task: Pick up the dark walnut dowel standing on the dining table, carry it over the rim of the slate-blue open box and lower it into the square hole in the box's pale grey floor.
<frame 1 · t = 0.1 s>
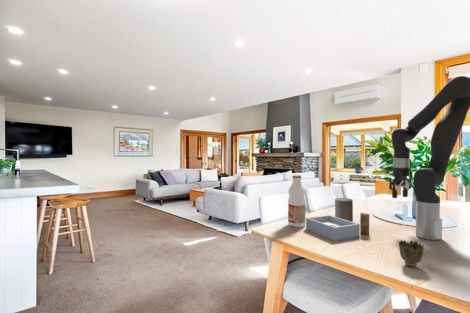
hand: (399, 197, 135), 17 cm above the table, tool pointing down, fingers open, 8 cm apart
box: (331, 232, 131), on the table
fruit juice: (296, 225, 144), on the table
peg: (364, 233, 129), on the table
pillar candle: (343, 222, 150), on the table
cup: (410, 266, 92), on the table
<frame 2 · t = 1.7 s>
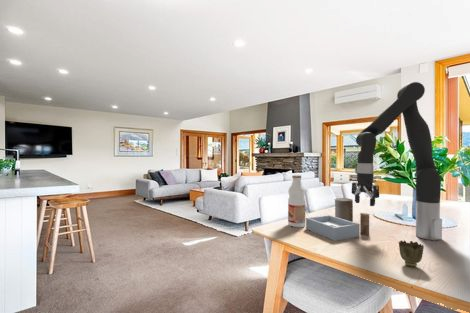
hand: (364, 204, 129), 15 cm above the table, tool pointing down, fingers open, 8 cm apart
nothing on the table moved.
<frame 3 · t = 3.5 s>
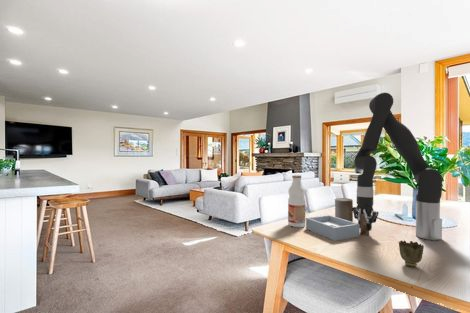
hand: (364, 229, 129), 2 cm above the table, tool pointing down, fingers closed on peg, 4 cm apart
peg: (364, 233, 129), on the table, touching gripper
everything else where it was.
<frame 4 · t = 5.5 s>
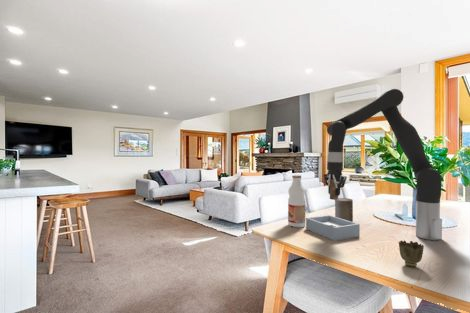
hand: (333, 194, 131), 19 cm above the table, tool pointing down, fingers closed on peg, 4 cm apart
peg: (333, 199, 131), point 17 cm above the table, touching gripper
everything else where it was.
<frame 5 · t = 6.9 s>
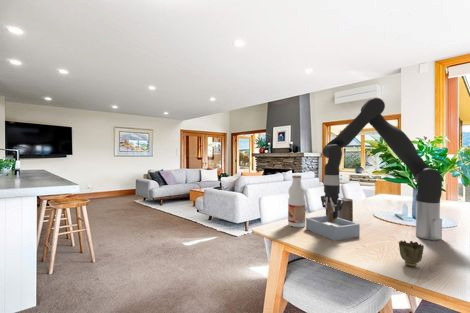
hand: (331, 217, 131), 8 cm above the table, tool pointing down, fingers closed on peg, 4 cm apart
peg: (331, 221, 131), point 6 cm above the table, touching gripper
everything else where it was.
when the fingers open (4 cm above the table, at t = 8.0 s): peg drops 1 cm, resting in box.
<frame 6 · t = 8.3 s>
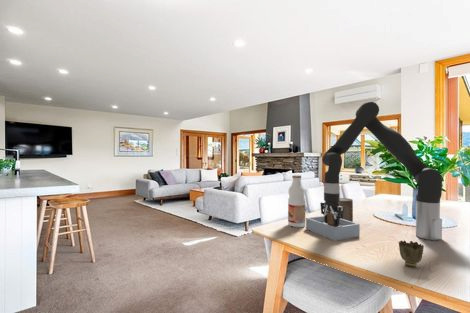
hand: (331, 224, 131), 4 cm above the table, tool pointing down, fingers open, 6 cm apart
peg: (331, 232, 131), resting in box
everything else where it was.
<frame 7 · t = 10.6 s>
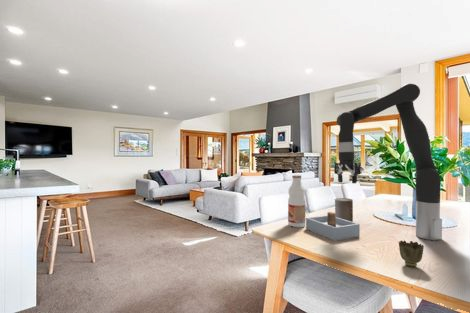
hand: (347, 182, 132), 25 cm above the table, tool pointing down, fingers open, 8 cm apart
nothing on the table moved.
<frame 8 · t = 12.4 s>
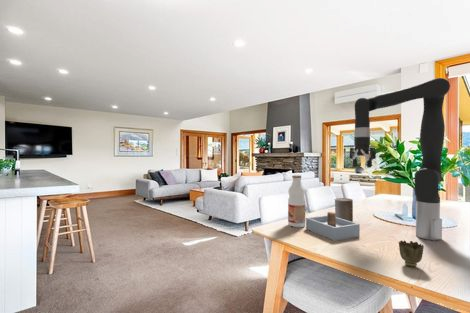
hand: (362, 167, 136), 33 cm above the table, tool pointing down, fingers open, 8 cm apart
nothing on the table moved.
at the end: peg 0.1 cm off-centre on the box, point 0.0 cm above the box's base; peg tilted 0°; the gripper is holding nothing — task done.
